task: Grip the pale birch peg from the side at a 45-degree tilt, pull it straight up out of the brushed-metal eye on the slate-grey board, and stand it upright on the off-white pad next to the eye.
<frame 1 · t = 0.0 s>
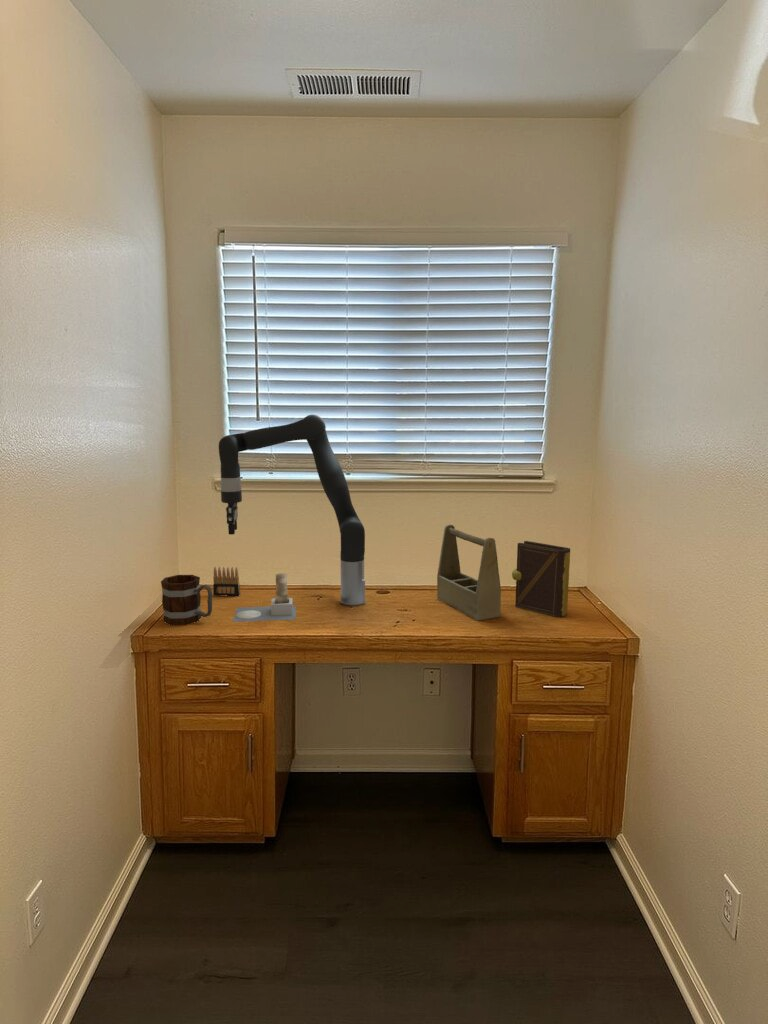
hand: (232, 532, 248), 29 cm above the table, tool pointing down, fingers open, 8 cm apart
peg: (282, 611, 242), point 1 cm above the table, touching board
mug: (189, 620, 238), on the table
caddy: (467, 608, 252), on the table
book: (538, 610, 250), on the table
ammunition clip: (226, 596, 267), on the table
board: (265, 617, 241), on the table
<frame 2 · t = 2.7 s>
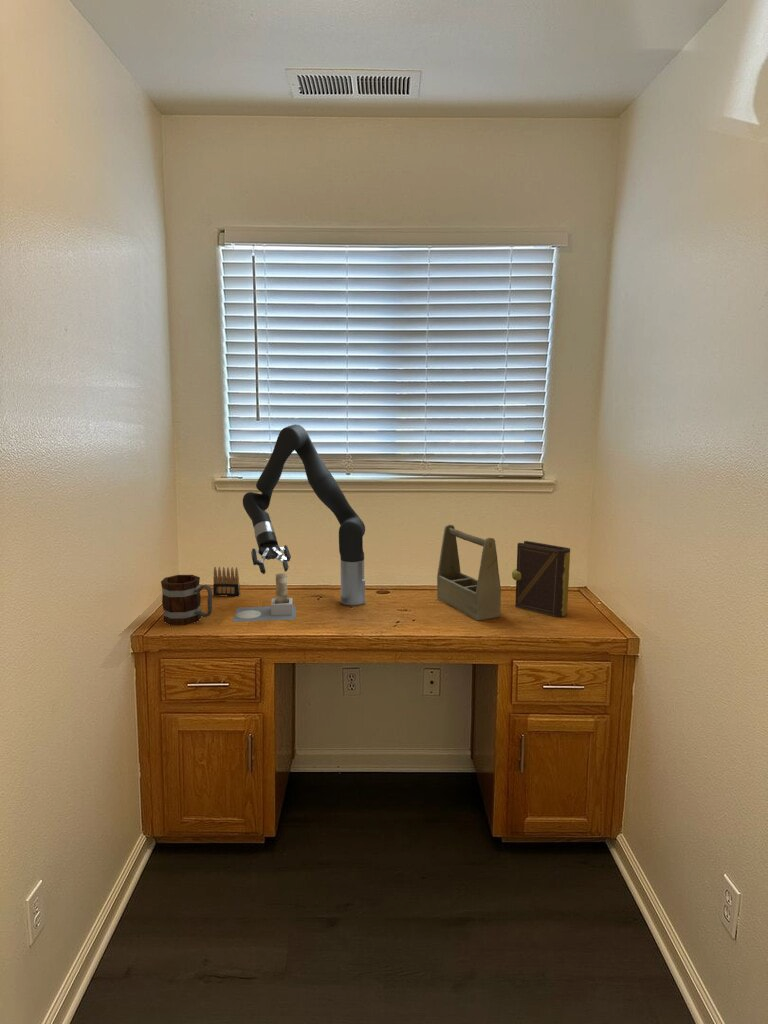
hand: (275, 571, 246), 15 cm above the table, tool tilted 45°, fingers open, 8 cm apart
nothing on the table moved.
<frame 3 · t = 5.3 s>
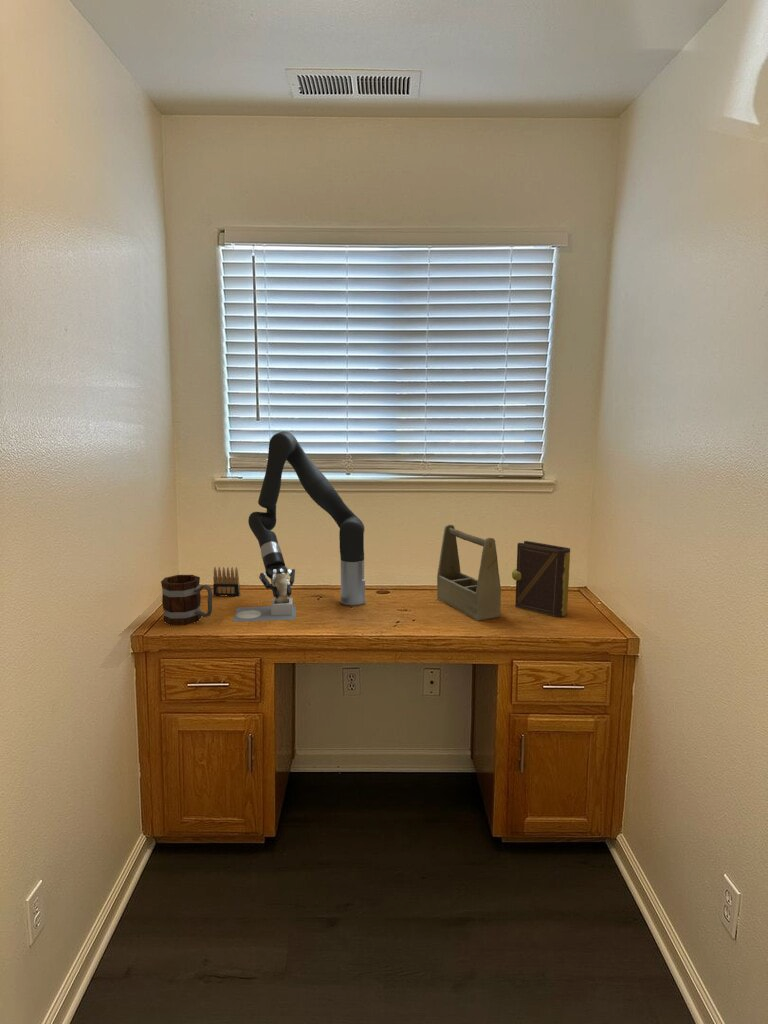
hand: (283, 596, 240), 8 cm above the table, tool tilted 45°, fingers closed on peg, 4 cm apart
peg: (282, 611, 242), point 2 cm above the table, touching board, gripper
everything else where it was.
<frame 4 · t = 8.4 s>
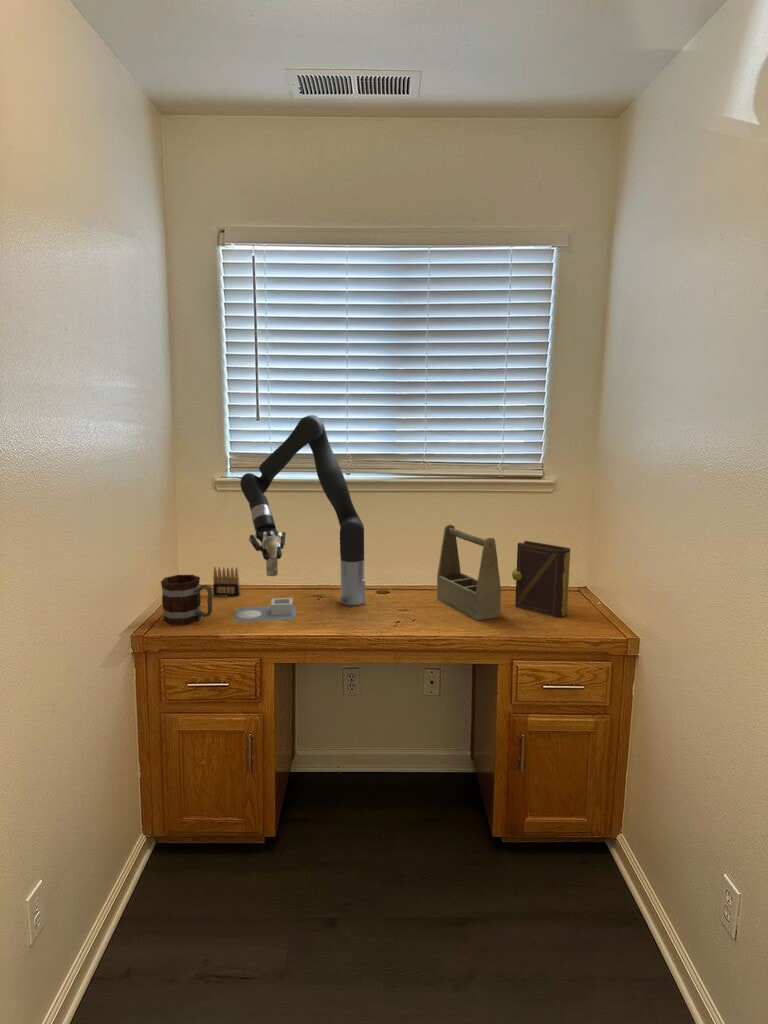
hand: (273, 558, 236), 22 cm above the table, tool tilted 45°, fingers closed on peg, 4 cm apart
peg: (272, 574, 239), point 16 cm above the table, touching gripper
everything else where it was.
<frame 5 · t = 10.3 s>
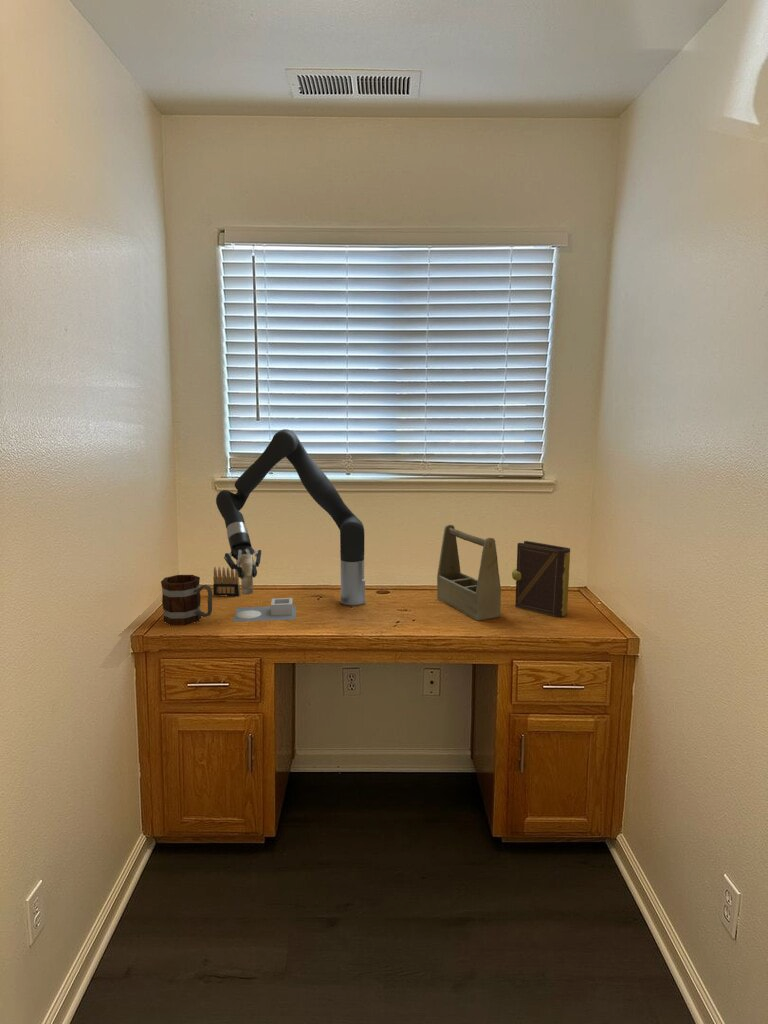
hand: (248, 576, 235), 16 cm above the table, tool tilted 45°, fingers closed on peg, 4 cm apart
peg: (247, 592, 238), point 10 cm above the table, touching gripper
everything else where it was.
when the fingers open (10 cm above the table, at t = 11.8 s): peg drops 1 cm, resting on board.
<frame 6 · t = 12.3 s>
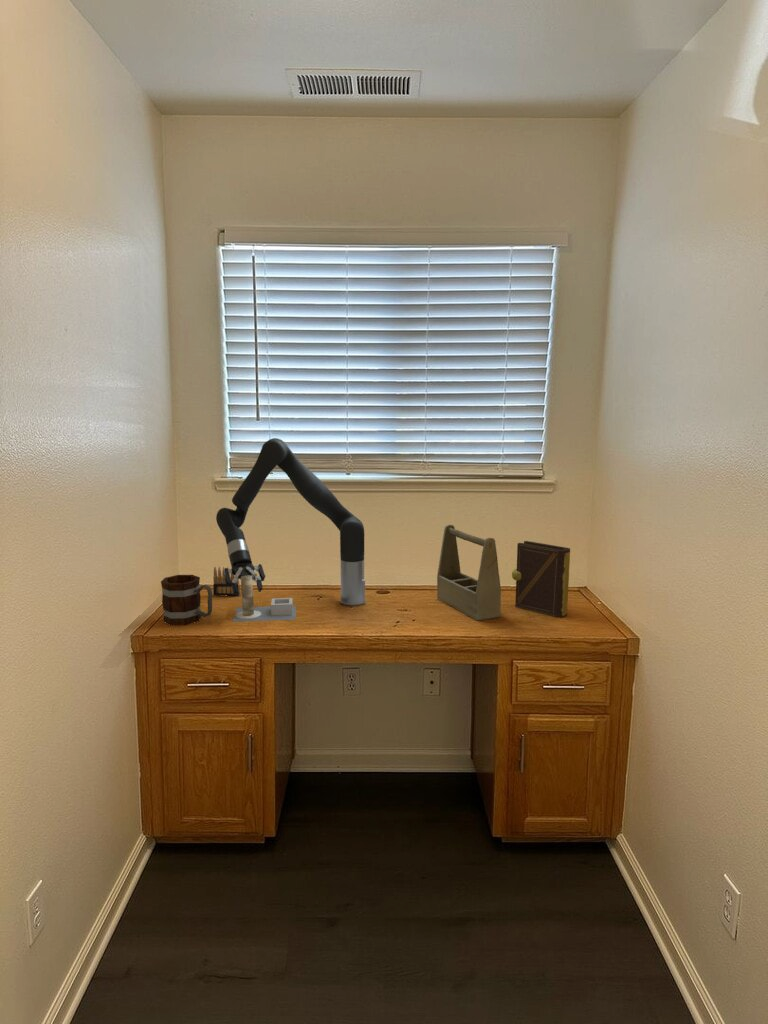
hand: (248, 592, 236), 10 cm above the table, tool tilted 45°, fingers open, 8 cm apart
peg: (248, 614, 239), point 2 cm above the table, touching board
everything else where it was.
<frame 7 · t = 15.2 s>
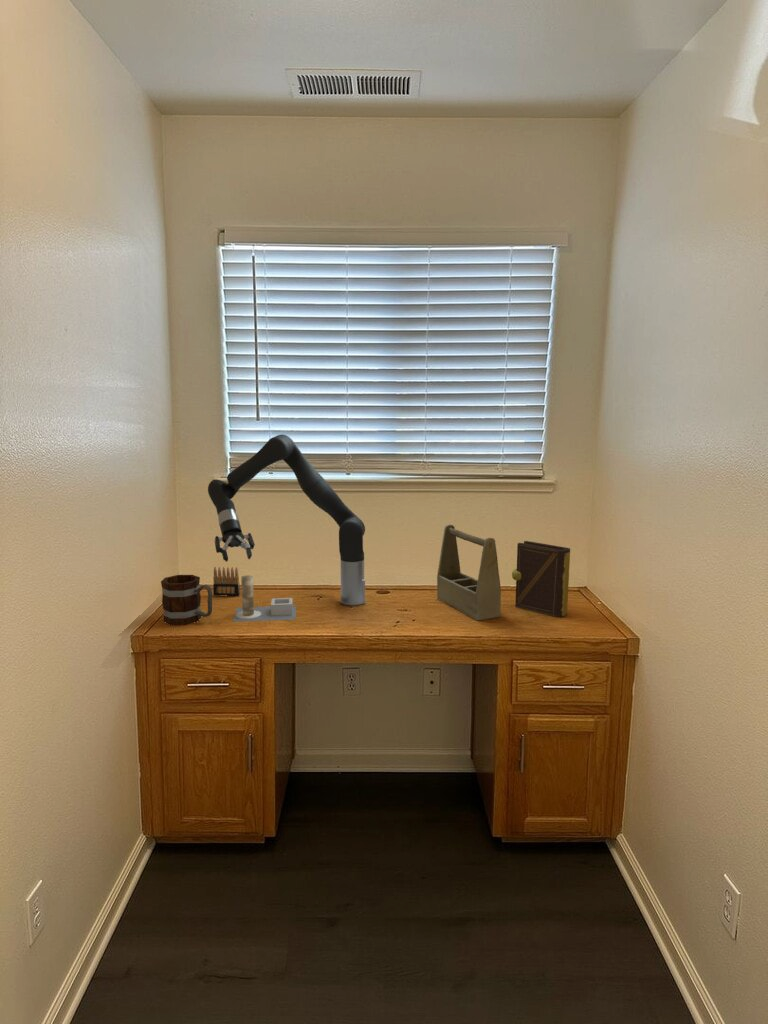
hand: (238, 559, 246), 20 cm above the table, tool tilted 45°, fingers open, 8 cm apart
nothing on the table moved.
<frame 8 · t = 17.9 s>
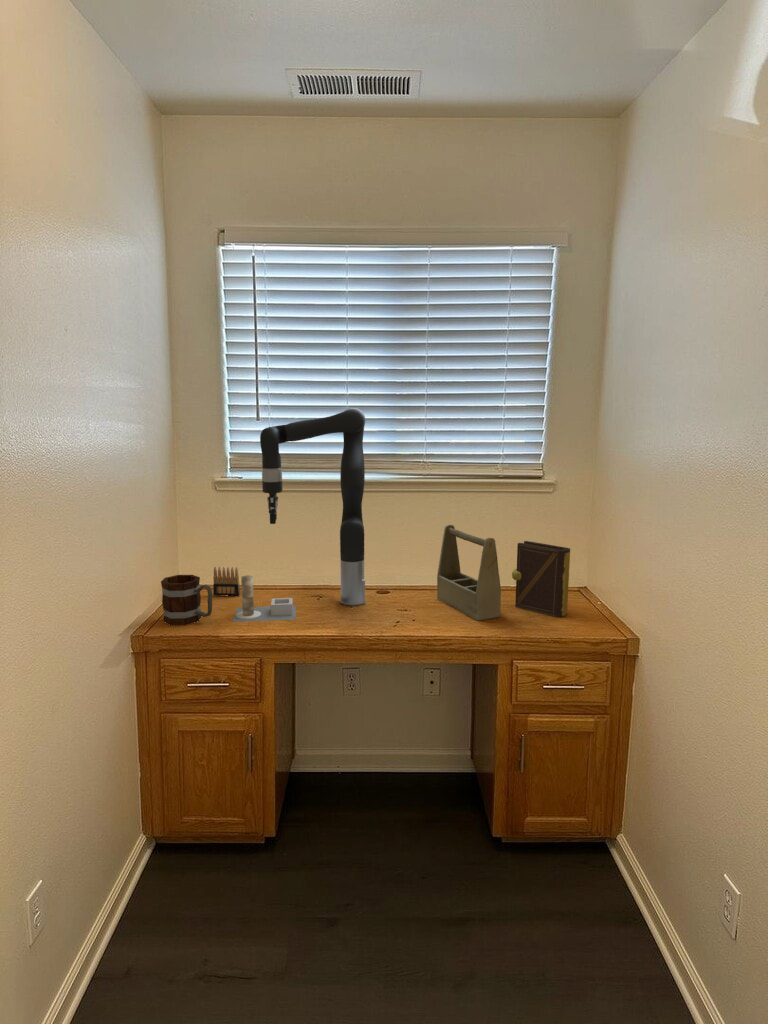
hand: (273, 521, 253), 32 cm above the table, tool pointing down, fingers open, 8 cm apart
nothing on the table moved.
at the end: peg inside the target area (0.1 cm from its centre), point 1.7 cm above the table; peg tilted 0°; the gripper is holding nothing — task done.
